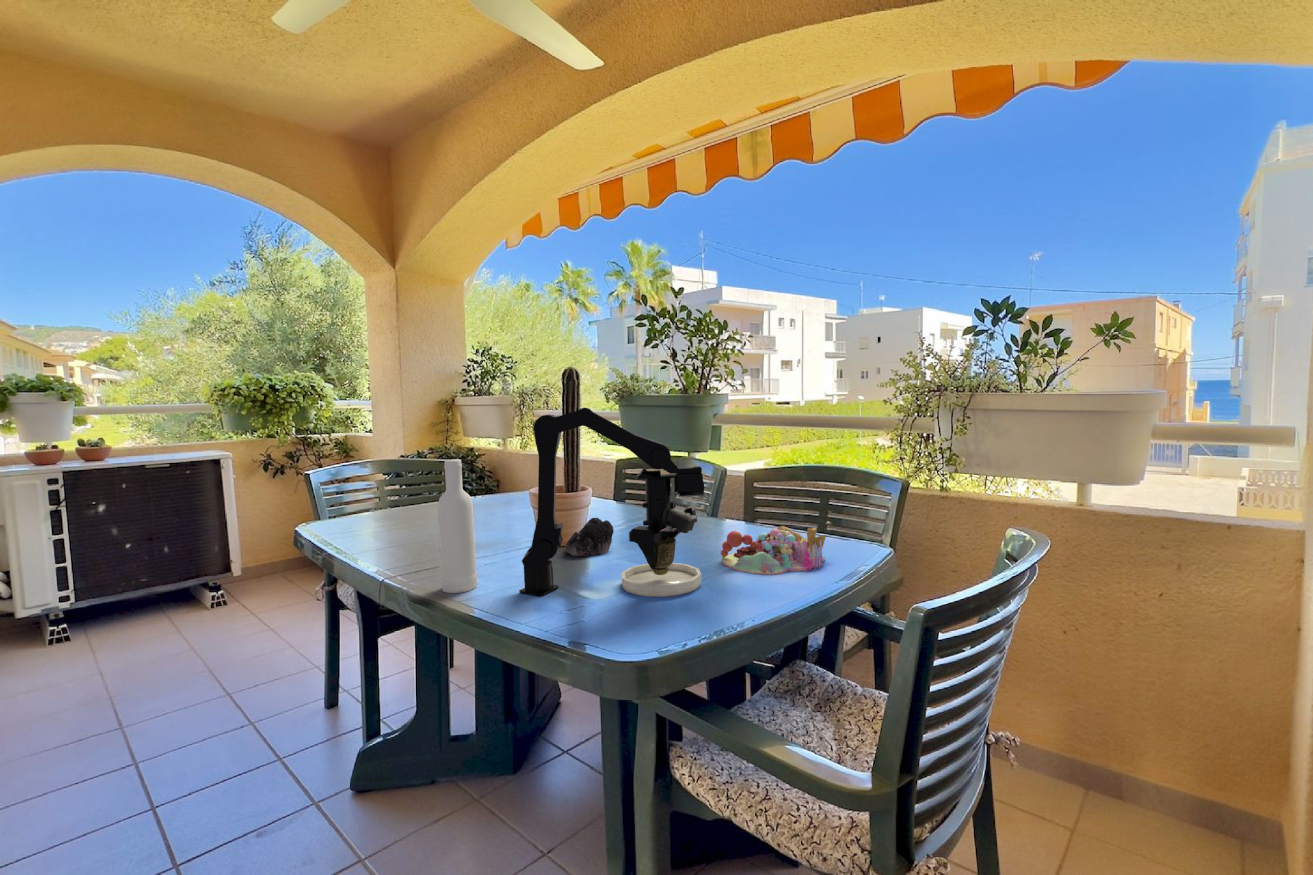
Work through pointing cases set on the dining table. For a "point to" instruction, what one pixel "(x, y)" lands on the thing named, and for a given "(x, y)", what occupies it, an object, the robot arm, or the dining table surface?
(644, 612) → the dining table surface
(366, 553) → the dining table surface
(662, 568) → the cup
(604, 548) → the crystal cluster
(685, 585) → the dish
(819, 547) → the pastel sphere sculpture
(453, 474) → the bottle
